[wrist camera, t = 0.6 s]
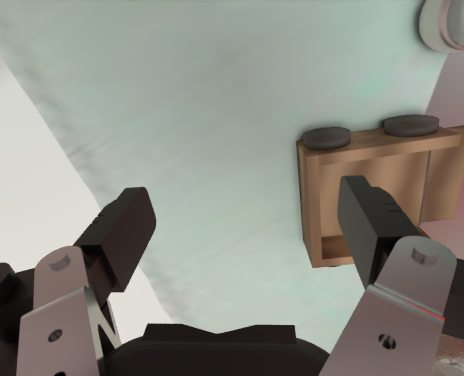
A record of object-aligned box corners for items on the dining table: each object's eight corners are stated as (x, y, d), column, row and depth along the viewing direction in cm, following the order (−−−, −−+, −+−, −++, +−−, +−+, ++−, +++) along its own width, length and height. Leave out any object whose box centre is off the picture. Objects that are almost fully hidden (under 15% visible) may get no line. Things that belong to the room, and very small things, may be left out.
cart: (472, 104, 31) (520, 114, 26) (447, 229, 38) (481, 257, 33) (295, 132, 33) (305, 146, 28) (303, 245, 40) (313, 274, 35)
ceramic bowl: (344, 386, 55) (363, 450, 46) (336, 306, 46) (360, 367, 37) (462, 375, 52) (508, 441, 43) (481, 288, 43) (544, 350, 34)
